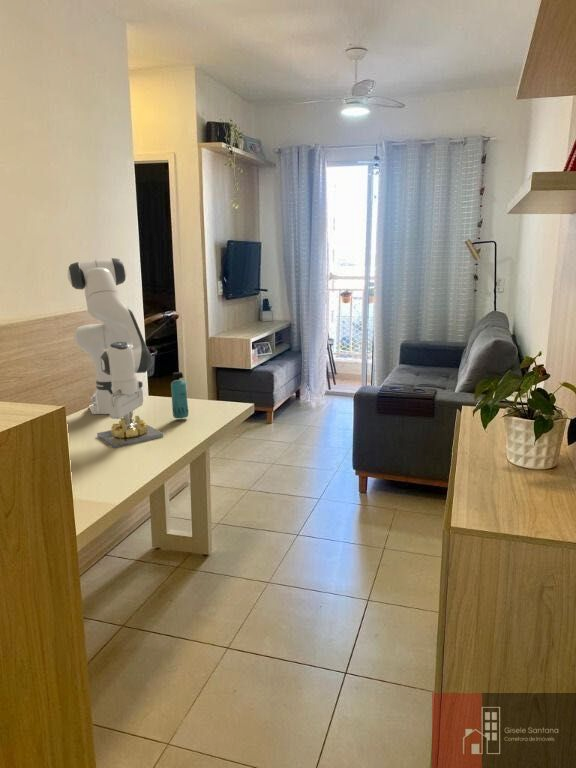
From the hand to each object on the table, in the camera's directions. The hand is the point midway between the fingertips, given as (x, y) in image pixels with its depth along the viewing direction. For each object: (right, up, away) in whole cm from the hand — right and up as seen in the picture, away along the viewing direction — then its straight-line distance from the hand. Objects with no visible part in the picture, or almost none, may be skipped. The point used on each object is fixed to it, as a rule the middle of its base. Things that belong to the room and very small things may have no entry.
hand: (128, 423), depth 207 cm
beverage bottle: (+14, 0, +27) cm, 30 cm away
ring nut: (-1, -4, +5) cm, 7 cm away
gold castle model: (-1, -5, +6) cm, 8 cm away
